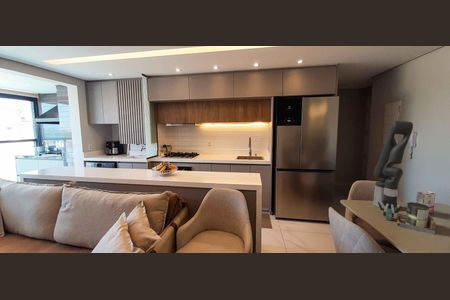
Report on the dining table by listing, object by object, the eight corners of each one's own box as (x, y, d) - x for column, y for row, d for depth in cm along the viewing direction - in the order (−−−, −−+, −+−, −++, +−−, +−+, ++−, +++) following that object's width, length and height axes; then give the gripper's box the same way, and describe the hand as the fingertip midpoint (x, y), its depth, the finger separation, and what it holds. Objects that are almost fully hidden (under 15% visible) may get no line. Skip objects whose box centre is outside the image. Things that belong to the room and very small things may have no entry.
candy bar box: (425, 210, 149) (427, 190, 147) (433, 213, 144) (436, 193, 142) (414, 212, 147) (416, 192, 144) (422, 215, 142) (424, 194, 140)
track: (399, 226, 127) (400, 223, 127) (396, 216, 141) (396, 212, 141) (434, 234, 117) (435, 231, 117) (427, 222, 132) (427, 218, 132)
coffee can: (405, 225, 129) (407, 205, 127) (405, 219, 136) (407, 201, 134) (427, 230, 122) (429, 210, 120) (426, 224, 129) (429, 205, 127)
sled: (386, 222, 132) (387, 211, 131) (384, 213, 144) (385, 204, 143) (434, 232, 119) (435, 221, 118) (427, 222, 131) (429, 211, 130)
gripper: (378, 193, 136) (376, 216, 138) (404, 198, 128) (402, 221, 130) (377, 190, 142) (375, 212, 144) (402, 194, 134) (400, 217, 136)
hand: (388, 216), depth 137 cm, fingers closed on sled, 3 cm apart
